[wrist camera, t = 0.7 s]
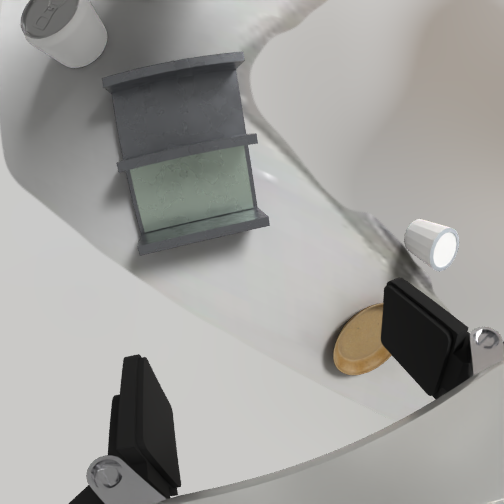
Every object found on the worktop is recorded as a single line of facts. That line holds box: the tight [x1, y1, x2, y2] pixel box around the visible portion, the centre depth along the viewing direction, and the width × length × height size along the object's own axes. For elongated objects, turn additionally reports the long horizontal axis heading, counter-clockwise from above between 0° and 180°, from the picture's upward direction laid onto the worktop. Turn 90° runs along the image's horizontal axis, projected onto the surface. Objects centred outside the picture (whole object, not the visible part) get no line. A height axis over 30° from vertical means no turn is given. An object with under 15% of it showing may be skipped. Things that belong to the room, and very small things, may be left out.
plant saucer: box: [333, 303, 392, 375], centre depth 50 cm, size 15×15×3 cm
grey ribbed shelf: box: [102, 52, 270, 255], centre depth 32 cm, size 20×14×6 cm
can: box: [21, 0, 107, 68], centre depth 21 cm, size 6×6×12 cm
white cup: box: [404, 219, 459, 271], centre depth 43 cm, size 7×7×7 cm
